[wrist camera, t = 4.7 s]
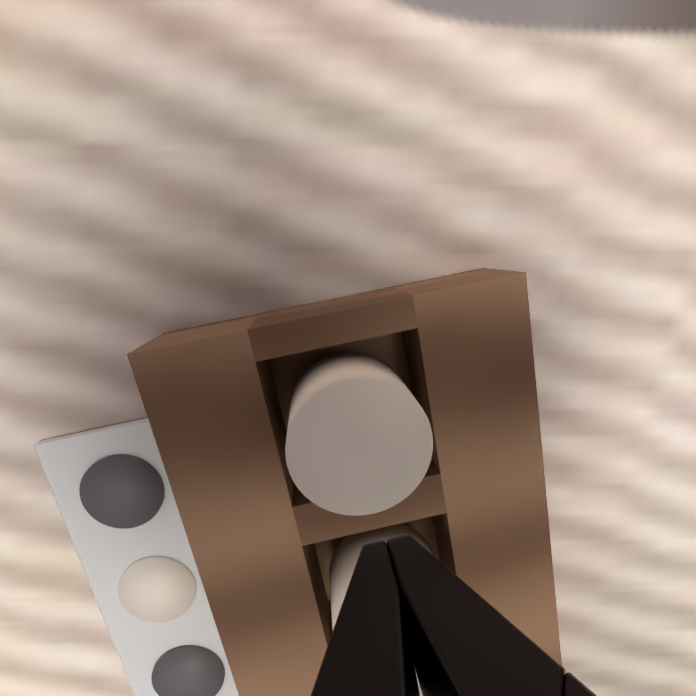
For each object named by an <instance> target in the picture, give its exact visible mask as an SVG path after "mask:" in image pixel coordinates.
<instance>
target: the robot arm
mask: <svg viewBox="0 0 696 696" xmlns="http://www.w3.org/2000/svg"><path fill="white" fill-rule="evenodd" d="M416 674H417V676H416ZM417 678H418V681H417ZM418 682H419V685H420V689H421V692H422V695H423V696H596V695H595V694H594V693H593V692H592V691H590V690H589V689H588V688H587V687H586V686H585V685H584V684H582V683H581V682H580V681H579V680H578V679H577V678H576V677H574V676H573V675H572V674H571V673H566V672H565V669H564V668H563V667H562V666H561V665H560V664H559V663H558V662H557V661H555V660H554V659H553V658H552V657H551V656H550V655H549V654H547V653H546V652H545V651H544V650H543V649H542V648H540V647H539V646H538V645H537V644H536V643H535V642H533V641H532V640H531V639H530V638H529V637H528V636H526V635H525V634H524V633H523V632H522V631H521V630H520V629H518V628H517V627H516V626H515V625H514V624H513V623H511V622H510V621H509V620H508V619H507V618H506V617H504V616H503V615H502V614H501V613H500V612H499V611H497V610H496V609H495V608H494V607H493V606H492V605H491V604H489V603H488V602H487V601H486V600H485V599H484V598H482V597H481V596H480V595H479V594H478V593H477V592H475V591H474V590H473V589H472V588H471V587H470V586H468V585H467V584H466V583H465V582H464V581H463V580H461V579H460V578H459V577H458V576H457V575H456V574H455V573H453V572H452V571H451V570H450V569H449V568H448V567H446V566H445V565H444V564H443V563H442V562H441V561H439V560H438V559H437V558H436V557H435V556H434V555H432V554H431V553H430V552H429V551H428V550H427V549H426V548H424V547H423V546H422V545H421V544H420V543H419V542H417V541H416V540H415V539H414V538H413V537H412V536H410V535H408V534H407V535H401V536H397V537H393V538H389V539H388V540H387V543H386V542H385V541H384V540H380V541H375V542H371V543H367V544H364V545H363V546H362V548H361V551H360V554H359V557H358V560H357V563H356V565H355V568H354V571H353V574H352V577H351V580H350V583H349V586H348V588H347V591H346V594H345V597H344V600H343V603H342V606H341V609H340V612H339V614H338V617H337V620H336V623H335V626H334V629H333V632H332V635H331V638H330V640H329V643H328V646H327V649H326V652H325V655H324V658H323V661H322V663H321V666H320V669H319V672H318V675H317V678H316V681H315V684H314V687H313V689H312V692H311V695H310V696H420V692H419V686H418Z"/></svg>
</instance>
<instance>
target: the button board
mask: <svg viewBox="0 0 696 696" xmlns="http://www.w3.org/2000/svg"><path fill="white" fill-rule="evenodd" d="M341 352H362V353H366V354H370V355H372V356H375V357H377V358H379V359H381V360H383V361H384V362H386V363H387V364H388V365H390V366H391V367H392V368H393V369H394V370H395V372H396V373H397V374H398V375H399V377H400V378H401V380H402V381H403V382H404V384H405V385H406V386H407V388H408V389H409V391H410V392H411V393H412V395H413V396H414V397H415V399H416V400H417V402H418V403H419V404H420V406H421V407H422V409H423V410H424V412H425V414H426V416H427V418H428V420H429V423H430V425H431V430H432V435H433V452H432V457H431V462H430V465H429V468H428V470H427V472H426V474H425V476H424V478H423V479H422V481H421V482H420V484H419V485H418V486H417V487H416V489H415V490H414V491H413V492H412V493H411V494H410V495H409V496H408V497H407V498H405V499H404V500H402V501H401V502H400V503H398V504H396V505H395V506H393V507H391V508H389V509H386V510H384V511H381V512H378V513H374V514H369V515H360V516H351V515H342V514H337V513H334V512H330V511H327V510H325V509H323V508H321V507H319V506H317V505H316V504H314V503H313V502H311V501H310V500H309V499H308V498H306V497H305V496H304V495H303V494H302V493H301V491H300V490H299V489H298V488H297V486H296V485H295V483H294V482H293V480H292V478H291V476H290V473H289V470H288V467H287V463H286V457H285V445H286V436H287V428H288V420H289V411H290V403H291V397H292V394H293V391H294V388H295V386H296V384H297V382H298V380H299V379H300V377H301V376H302V375H303V374H304V372H305V371H306V370H307V369H308V368H309V367H311V366H312V365H313V364H314V363H316V362H317V361H319V360H321V359H322V358H325V357H327V356H329V355H332V354H336V353H341ZM127 355H128V358H129V361H130V364H131V367H132V370H133V373H134V376H135V380H136V383H137V386H138V389H139V392H140V395H141V398H142V401H143V404H144V407H145V410H146V413H147V416H148V419H149V422H150V425H151V428H152V431H153V434H154V438H155V441H156V444H157V447H158V450H159V453H160V456H161V459H162V462H163V465H164V468H165V471H166V474H167V477H168V480H169V483H170V486H171V489H172V493H173V496H174V499H175V502H176V505H177V508H178V511H179V514H180V517H181V520H182V523H183V526H184V529H185V532H186V535H187V538H188V541H189V544H190V547H191V551H192V554H193V557H194V560H195V563H196V566H197V569H198V572H199V575H200V578H201V581H202V584H203V587H204V590H205V593H206V596H207V599H208V602H209V606H210V609H211V612H212V615H213V618H214V621H215V624H216V627H217V630H218V633H219V636H220V639H221V642H222V645H223V648H224V651H225V654H226V657H227V661H228V664H229V667H230V670H231V673H232V676H233V679H234V682H235V685H236V688H237V691H238V694H239V696H310V695H311V692H312V689H313V687H314V684H315V681H316V678H317V675H318V672H319V669H320V666H321V663H322V661H323V658H324V655H325V652H326V649H327V646H328V643H329V640H330V638H331V635H332V632H333V630H332V614H331V598H330V582H329V567H330V562H331V558H332V556H333V554H334V552H335V550H336V548H337V547H338V545H339V544H340V543H341V542H342V541H343V540H344V539H345V538H346V537H347V536H348V535H352V534H357V533H361V532H365V531H370V530H374V529H378V528H383V527H387V526H392V525H396V524H404V525H407V526H409V527H411V528H413V529H415V530H416V531H418V532H419V533H420V534H422V535H423V536H424V537H425V539H426V540H427V541H428V542H429V544H430V546H431V548H432V550H433V553H434V555H435V557H436V558H437V559H438V560H439V561H441V562H442V563H443V564H444V565H445V566H446V567H448V568H449V569H450V570H451V571H452V572H453V573H455V574H456V575H457V576H458V577H459V578H460V579H461V580H463V581H464V582H465V583H466V584H467V585H468V586H470V587H471V588H472V589H473V590H474V591H475V592H477V593H478V594H479V595H480V596H481V597H482V598H484V599H485V600H486V601H487V602H488V603H489V604H491V605H492V606H493V607H494V608H495V609H496V610H497V611H499V612H500V613H501V614H502V615H503V616H504V617H506V618H507V619H508V620H509V621H510V622H511V623H513V624H514V625H515V626H516V627H517V628H518V629H520V630H521V631H522V632H523V633H524V634H525V635H526V636H528V637H529V638H530V639H531V640H532V641H533V642H535V643H536V644H537V645H538V646H539V647H540V648H542V649H543V650H544V651H545V652H546V653H547V654H549V655H550V656H551V657H552V658H553V659H554V660H555V661H557V662H558V663H559V664H560V665H561V666H562V664H561V653H560V642H559V631H558V620H557V609H556V598H555V587H554V576H553V566H552V555H551V544H550V533H549V522H548V511H547V500H546V489H545V478H544V467H543V456H542V445H541V434H540V423H539V412H538V402H537V391H536V380H535V369H534V358H533V347H532V336H531V325H530V314H529V303H528V292H527V281H526V272H516V271H506V270H496V269H485V268H482V269H477V270H472V271H468V272H463V273H458V274H453V275H448V276H443V277H438V278H433V279H428V280H423V281H419V282H414V283H409V284H404V285H399V286H394V287H389V288H384V289H379V290H374V291H369V292H365V293H360V294H355V295H350V296H345V297H340V298H335V299H330V300H325V301H320V302H316V303H311V304H306V305H301V306H296V307H291V308H286V309H281V310H276V311H271V312H267V313H262V314H257V315H252V316H247V317H242V318H237V319H232V320H227V321H222V322H217V323H213V324H208V325H203V326H198V327H193V328H188V329H183V330H178V331H173V332H168V333H164V334H162V335H160V336H158V337H157V338H155V339H153V340H151V341H150V342H148V343H146V344H144V345H143V346H141V347H139V348H137V349H136V350H134V351H132V352H130V353H128V354H127Z"/></svg>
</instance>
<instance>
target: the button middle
mask: <svg viewBox="0 0 696 696" xmlns="http://www.w3.org/2000/svg"><path fill="white" fill-rule="evenodd" d="M407 534H408V535H410V536H412V537H413V538H414V539H415V540H416V541H417V542H419V543H420V544H421V545H422V546H423V547H424V548H426V549H427V550H428V551H429V552H430V553H431V554H432V555H434V553H433V550H432V548H431V546H430V544H429V542H428V541H427V540H426V539H425V537H424V536H423V535H422V534H420V533H419V532H418V531H416V530H415V529H413V528H411V527H409V526H407V525H404V524H396V525H392V526H387V527H383V528H378V529H374V530H370V531H365V532H361V533H357V534H352V535H348V536H347V537H346V538H345V539H344V540H343V541H342V542H341V543H340V544H339V545H338V547H337V548H336V550H335V552H334V554H333V556H332V558H331V562H330V567H329V582H330V598H331V614H332V630H333V629H334V626H335V623H336V620H337V617H338V614H339V612H340V609H341V606H342V603H343V600H344V597H345V594H346V591H347V588H348V586H349V583H350V580H351V577H352V574H353V571H354V568H355V565H356V563H357V560H358V557H359V554H360V551H361V548H362V546H363V545H364V544H367V543H371V542H375V541H380V540H384V541H385V542H386V543H387V540H388V539H389V538H393V537H397V536H401V535H407ZM434 556H435V555H434ZM416 676H417V674H416ZM417 681H418V678H417ZM418 686H419V688H420V685H419V682H418Z"/></svg>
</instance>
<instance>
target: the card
mask: <svg viewBox="0 0 696 696" xmlns="http://www.w3.org/2000/svg"><path fill="white" fill-rule="evenodd" d="M34 448H35V450H36V453H37V455H38V458H39V460H40V463H41V465H42V468H43V470H44V473H45V475H46V478H47V480H48V483H49V485H50V488H51V490H52V492H53V495H54V497H55V500H56V502H57V505H58V507H59V510H60V512H61V515H62V517H63V520H64V522H65V525H66V527H67V530H68V532H69V535H70V537H71V540H72V542H73V545H74V547H75V550H76V552H77V554H78V557H79V559H80V562H81V564H82V567H83V569H84V572H85V574H86V577H87V579H88V582H89V584H90V587H91V589H92V592H93V594H94V597H95V599H96V602H97V604H98V607H99V609H100V612H101V614H102V616H103V619H104V621H105V624H106V626H107V629H108V631H109V634H110V636H111V639H112V641H113V644H114V646H115V649H116V651H117V654H118V656H119V659H120V661H121V664H122V666H123V669H124V671H125V674H126V676H127V678H128V681H129V683H130V686H131V688H132V691H133V693H134V696H239V694H238V691H237V688H236V685H235V682H234V679H233V676H232V673H231V670H230V667H229V664H228V661H227V657H226V654H225V651H224V648H223V645H222V642H221V639H220V636H219V633H218V630H217V627H216V624H215V621H214V618H213V615H212V612H211V609H210V606H209V602H208V599H207V596H206V593H205V590H204V587H203V584H202V581H201V578H200V575H199V572H198V569H197V566H196V563H195V560H194V557H193V554H192V551H191V547H190V544H189V541H188V538H187V535H186V532H185V529H184V526H183V523H182V520H181V517H180V514H179V511H178V508H177V505H176V502H175V499H174V496H173V493H172V489H171V486H170V483H169V480H168V477H167V474H166V471H165V468H164V465H163V462H162V459H161V456H160V453H159V450H158V447H157V444H156V441H155V438H154V434H153V431H152V428H151V425H150V422H149V419H148V418H145V419H140V420H136V421H131V422H126V423H121V424H117V425H112V426H107V427H103V428H98V429H93V430H88V431H84V432H79V433H74V434H70V435H65V436H60V437H56V438H51V439H46V440H41V441H39V442H38V443H36V444H35V445H34Z"/></svg>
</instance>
